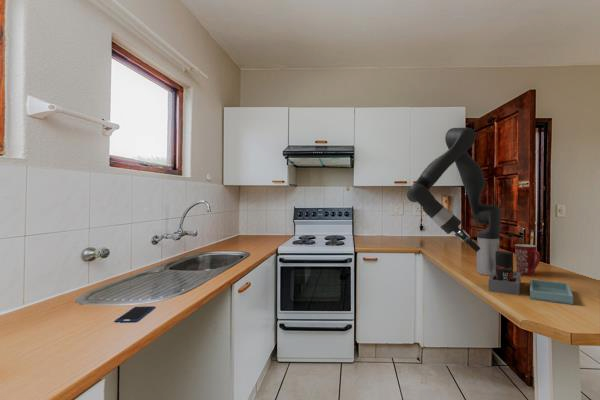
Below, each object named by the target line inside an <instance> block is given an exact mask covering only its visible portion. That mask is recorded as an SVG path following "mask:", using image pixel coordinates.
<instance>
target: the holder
mask: <svg viewBox="0 0 600 400" xmlns="http://www.w3.org/2000/svg"><path fill="white" fill-rule="evenodd" d="M521 281H522V274H521V272H517V271H513V282H510V281H502V280H496V270H493V272H492V274H491V275H489V277H488V292H494V293H495V292H496V293H502V294H509V295H516V296H519V295H520V291H521V284H522V282H521Z"/></svg>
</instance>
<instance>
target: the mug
mask: <svg viewBox="0 0 600 400" xmlns="http://www.w3.org/2000/svg"><path fill="white" fill-rule="evenodd" d="M513 247H514V251H515V254H514V255H515V263H516V264H515V265H516V272H521V275H527V276H529V275H530V276H531V275H532V276H533V275H536V268H537V267H538V265H540V262H541V253H540V252H539V251H538V250H537V245H535V244H524V243H523V244H521V243H520V244H517V243H516V244H514V246H513Z"/></svg>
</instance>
